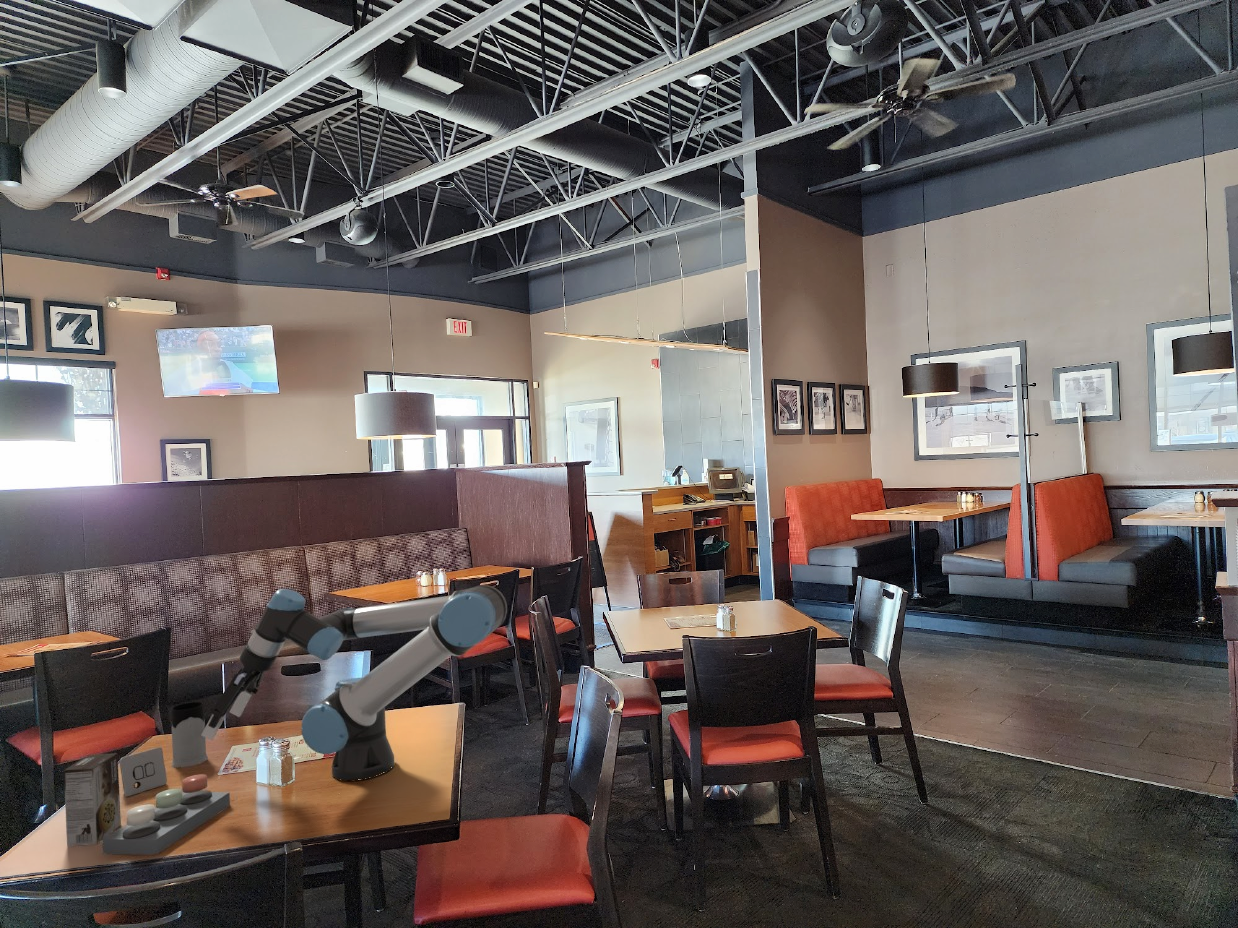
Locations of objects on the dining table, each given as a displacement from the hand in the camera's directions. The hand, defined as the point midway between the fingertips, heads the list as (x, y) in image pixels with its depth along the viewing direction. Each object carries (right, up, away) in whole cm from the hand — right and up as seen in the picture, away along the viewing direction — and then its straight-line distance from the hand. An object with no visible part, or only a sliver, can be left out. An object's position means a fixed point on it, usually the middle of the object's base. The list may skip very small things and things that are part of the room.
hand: (221, 725), depth 185 cm
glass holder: (-22, -18, +25) cm, 38 cm away
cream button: (-3, -11, -27) cm, 29 cm away
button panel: (-1, -16, -19) cm, 25 cm away
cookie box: (-17, -17, -21) cm, 31 cm away
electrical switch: (-22, -18, +5) cm, 29 cm away
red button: (0, -11, -11) cm, 15 cm away
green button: (-2, -11, -19) cm, 22 cm away
